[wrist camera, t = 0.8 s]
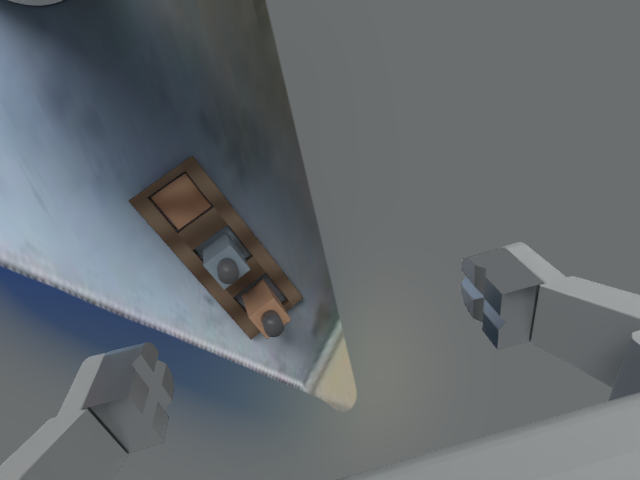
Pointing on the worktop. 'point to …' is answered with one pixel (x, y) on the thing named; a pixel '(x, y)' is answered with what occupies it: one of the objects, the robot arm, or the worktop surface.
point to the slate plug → (224, 261)
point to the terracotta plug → (265, 309)
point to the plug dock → (208, 235)
